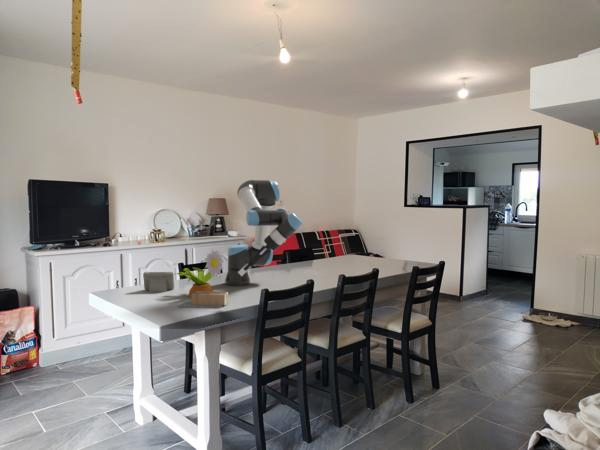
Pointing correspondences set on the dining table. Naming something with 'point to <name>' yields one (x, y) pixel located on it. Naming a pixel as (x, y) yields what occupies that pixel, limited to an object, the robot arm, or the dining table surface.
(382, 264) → the dining table surface
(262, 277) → the dining table surface
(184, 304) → the slate mat
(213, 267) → the decorative plant
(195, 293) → the wooden block
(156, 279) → the digital clock
